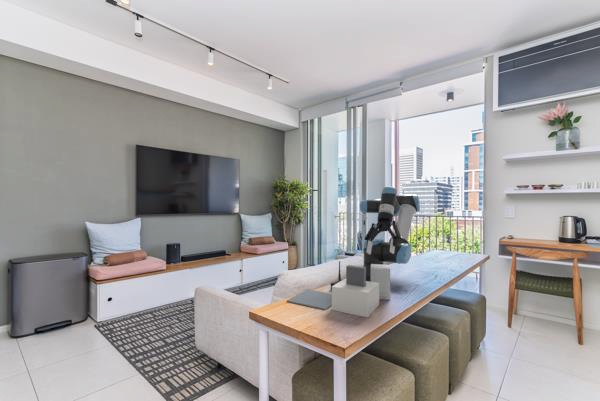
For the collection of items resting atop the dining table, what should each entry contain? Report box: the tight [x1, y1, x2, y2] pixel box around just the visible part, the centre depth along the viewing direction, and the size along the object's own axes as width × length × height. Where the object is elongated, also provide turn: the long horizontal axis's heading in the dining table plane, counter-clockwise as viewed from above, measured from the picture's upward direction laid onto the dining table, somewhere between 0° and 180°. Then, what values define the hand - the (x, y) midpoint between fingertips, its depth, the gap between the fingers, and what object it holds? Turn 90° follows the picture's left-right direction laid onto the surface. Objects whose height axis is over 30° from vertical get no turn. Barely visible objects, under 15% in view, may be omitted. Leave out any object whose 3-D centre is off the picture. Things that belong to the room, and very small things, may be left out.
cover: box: [331, 264, 380, 318], centre depth 129 cm, size 16×16×18 cm
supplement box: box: [370, 264, 391, 301], centre depth 144 cm, size 9×9×15 cm
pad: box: [286, 288, 332, 311], centre depth 139 cm, size 20×20×1 cm
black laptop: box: [330, 260, 343, 291], centre depth 155 cm, size 20×14×17 cm
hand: (379, 253), depth 144 cm, fingers open, 13 cm apart
